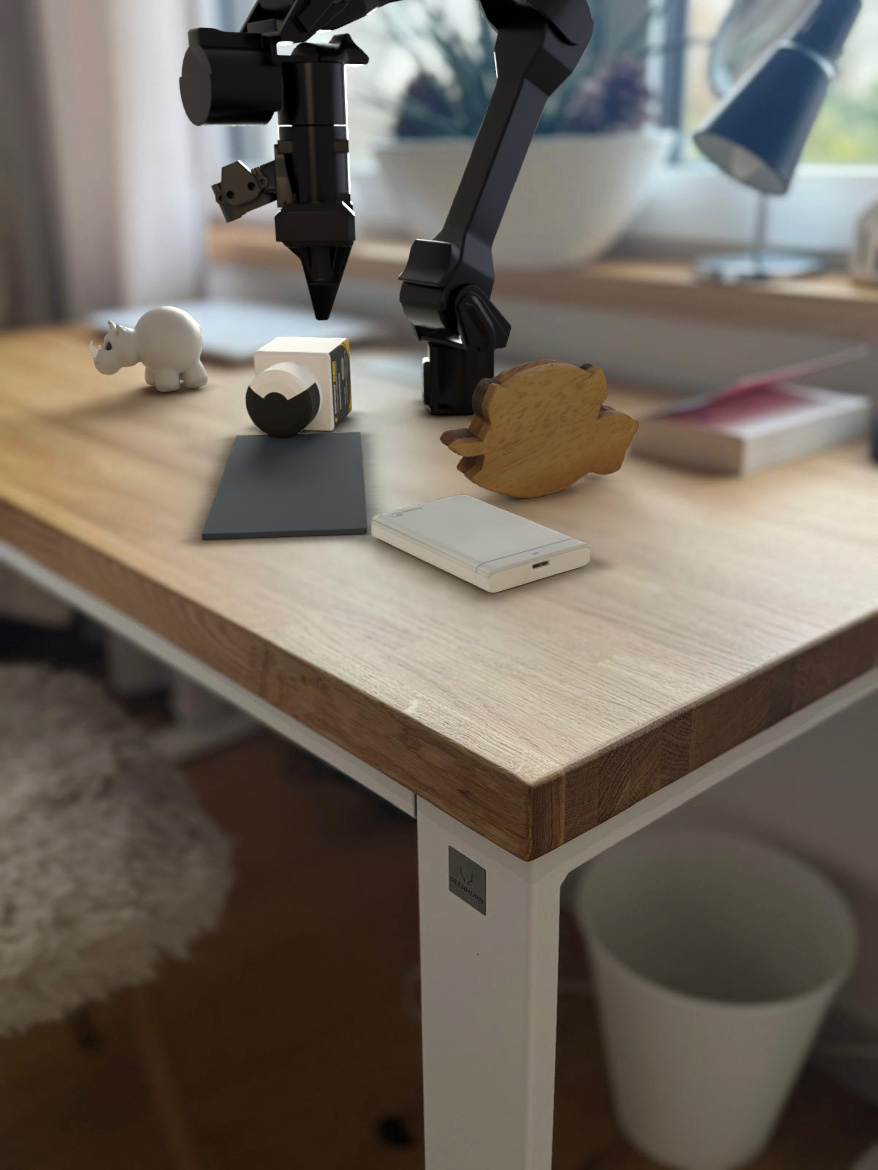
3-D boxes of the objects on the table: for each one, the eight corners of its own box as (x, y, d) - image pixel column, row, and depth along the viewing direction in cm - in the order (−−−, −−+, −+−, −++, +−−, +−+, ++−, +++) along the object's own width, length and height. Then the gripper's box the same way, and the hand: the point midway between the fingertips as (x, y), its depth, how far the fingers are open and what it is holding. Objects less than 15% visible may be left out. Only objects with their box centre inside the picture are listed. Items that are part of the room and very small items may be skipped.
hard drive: (370, 515, 71) (488, 569, 62) (467, 492, 76) (591, 539, 67) (371, 539, 72) (488, 595, 63) (467, 514, 77) (590, 564, 67)
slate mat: (360, 436, 97) (360, 431, 97) (367, 533, 73) (367, 528, 73) (236, 439, 96) (236, 435, 96) (202, 539, 72) (201, 533, 72)
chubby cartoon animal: (86, 390, 115) (75, 309, 112) (194, 377, 121) (186, 299, 118) (104, 403, 110) (93, 317, 106) (216, 389, 115) (209, 307, 112)
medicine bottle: (353, 411, 105) (318, 448, 94) (282, 408, 106) (240, 444, 95) (349, 337, 102) (313, 366, 91) (277, 335, 103) (232, 363, 92)
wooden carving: (600, 467, 87) (607, 342, 83) (640, 481, 84) (648, 351, 80) (429, 503, 79) (428, 366, 75) (465, 520, 75) (465, 377, 71)
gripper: (225, 128, 97) (238, 306, 103) (199, 126, 79) (218, 340, 85) (349, 127, 97) (356, 304, 103) (351, 125, 80) (359, 337, 86)
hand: (322, 319), depth 95 cm, fingers closed
